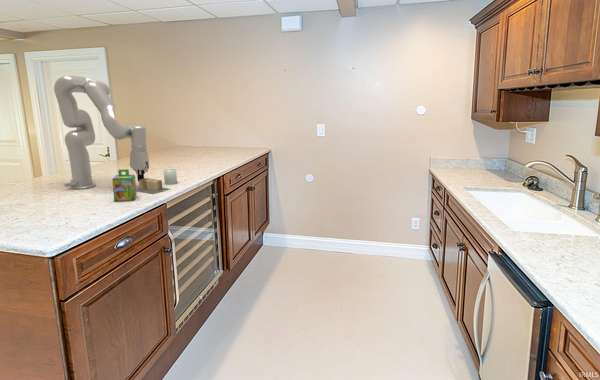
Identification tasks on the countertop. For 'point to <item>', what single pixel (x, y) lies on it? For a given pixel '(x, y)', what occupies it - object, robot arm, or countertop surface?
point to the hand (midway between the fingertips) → (140, 181)
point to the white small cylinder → (170, 176)
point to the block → (150, 184)
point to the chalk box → (124, 186)
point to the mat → (151, 191)
